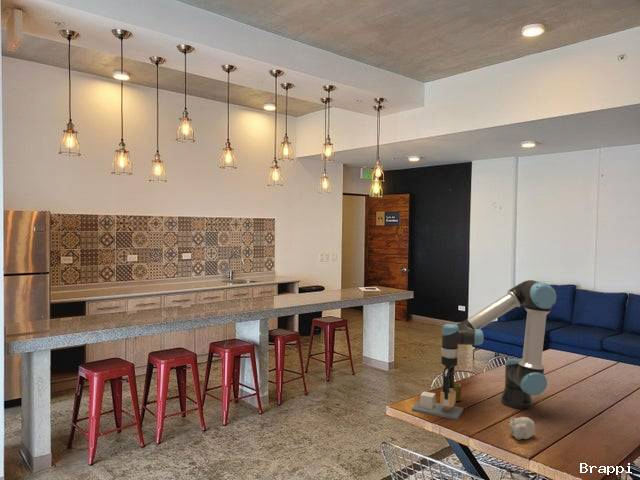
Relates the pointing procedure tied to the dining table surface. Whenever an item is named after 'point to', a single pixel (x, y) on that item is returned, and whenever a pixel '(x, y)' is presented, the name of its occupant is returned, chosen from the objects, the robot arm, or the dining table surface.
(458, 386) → the mug
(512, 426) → the white lumpy piece
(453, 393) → the light orange cube
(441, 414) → the board
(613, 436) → the dining table surface
